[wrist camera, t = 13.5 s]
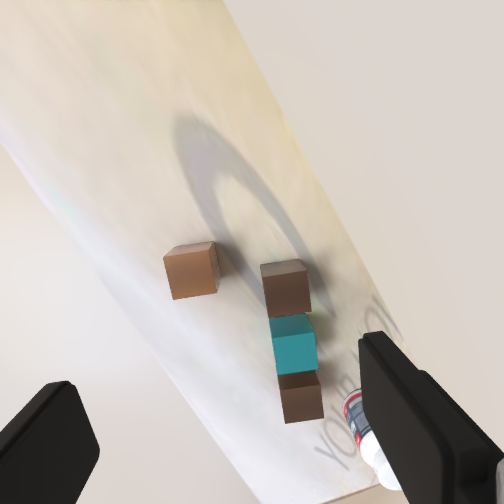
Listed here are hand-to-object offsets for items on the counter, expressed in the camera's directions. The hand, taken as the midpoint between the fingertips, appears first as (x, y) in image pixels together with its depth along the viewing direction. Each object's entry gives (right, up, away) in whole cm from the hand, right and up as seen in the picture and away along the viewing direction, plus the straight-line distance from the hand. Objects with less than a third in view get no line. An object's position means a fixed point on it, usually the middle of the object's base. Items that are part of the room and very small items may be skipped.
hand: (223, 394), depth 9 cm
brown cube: (+6, -11, +26) cm, 29 cm away
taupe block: (+4, +1, +23) cm, 23 cm away
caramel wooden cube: (-5, +3, +22) cm, 23 cm away
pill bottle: (+15, -15, +27) cm, 34 cm away
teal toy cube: (+5, -5, +24) cm, 25 cm away
